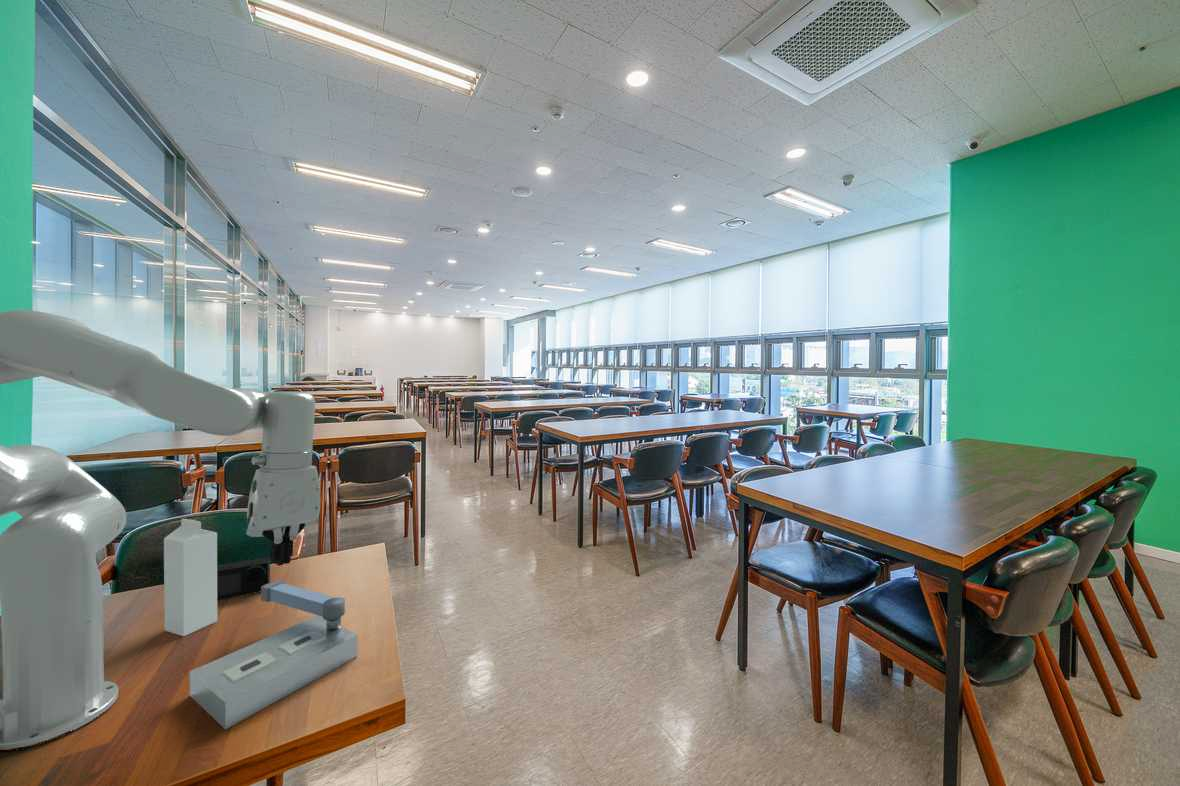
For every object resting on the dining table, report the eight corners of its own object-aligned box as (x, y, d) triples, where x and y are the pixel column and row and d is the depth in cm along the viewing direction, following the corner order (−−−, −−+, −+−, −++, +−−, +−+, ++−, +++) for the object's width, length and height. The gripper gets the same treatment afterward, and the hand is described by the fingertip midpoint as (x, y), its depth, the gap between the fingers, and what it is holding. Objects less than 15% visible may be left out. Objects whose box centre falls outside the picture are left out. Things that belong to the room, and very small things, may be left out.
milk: (198, 616, 93) (198, 514, 93) (217, 621, 91) (218, 517, 91) (163, 631, 88) (163, 522, 87) (183, 637, 86) (183, 526, 85)
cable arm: (349, 613, 84) (349, 598, 84) (331, 622, 81) (332, 607, 80) (278, 592, 91) (278, 579, 91) (260, 600, 88) (260, 586, 88)
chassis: (225, 729, 64) (225, 687, 63) (189, 695, 70) (189, 658, 70) (358, 655, 81) (358, 622, 81) (320, 634, 88) (320, 603, 87)
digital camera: (210, 604, 98) (210, 573, 98) (215, 594, 103) (215, 564, 103) (267, 593, 104) (267, 564, 104) (269, 584, 108) (270, 556, 108)
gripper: (246, 468, 70) (239, 582, 70) (340, 459, 82) (334, 555, 83) (226, 462, 74) (220, 570, 74) (319, 454, 86) (313, 546, 86)
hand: (280, 562), depth 78 cm, fingers closed
